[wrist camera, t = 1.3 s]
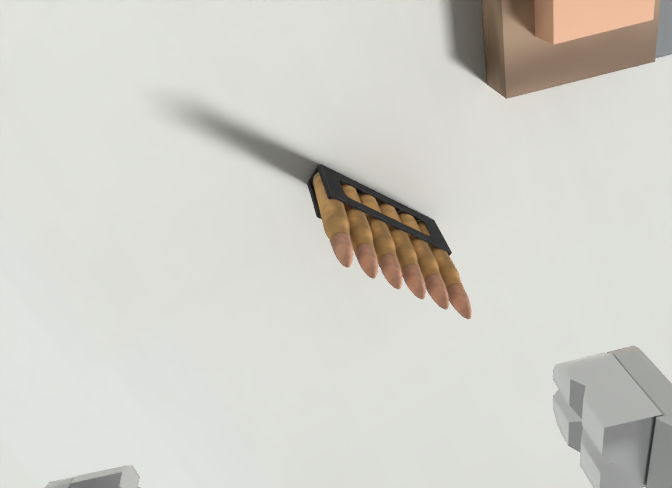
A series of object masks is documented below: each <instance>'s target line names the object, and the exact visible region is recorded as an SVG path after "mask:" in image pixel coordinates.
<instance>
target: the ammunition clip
mask: <svg viewBox="0 0 672 488" xmlns="http://www.w3.org/2000/svg"><path fill="white" fill-rule="evenodd" d="M307 185H308V188H309V191H310V194H311V198H312V201H313V205H314V208H315V212H316V216H317V217H318V218H320V219H322V222H323V226H324V230H325V233H326V235H327V236H328V238H329V239H330V242H331V245H332V248H333V250H334V253H335V255H336V257H337V259H338V260H339V261H340V263H341V264H342V265H343V266H345V267H350V265H351V263H352V259H353V250H354V252H355V255H356V257H357V259H358V262H359V264H360V266H361V268H362V269H363V271H364V272H365V273H366V274H367V275H368V276H369V277H371V278H373V279H374V278H375V277H376V275H377V272H378V264H379V266H380V268H381V270H382V273H383V275H384V276H385V278H386V279H387V281H388V282H389V283H390V284H391V285H392V286H393V287H394V288H396V289H400V288H401V285H402V277H403V278H404V281H405V283H406V284H407V286H408V288H409V289H410V290H411V291H412V293H413V294H414V295H415V296H417V297H418V298H420V299H424V297H425V293H426V289H427V291H428V293H429V295H430V296H431V297H432V299H433V300H434V301H435V302H436V303H437V304H438V305H439V306H440V307H441V308H443V309H448V306H449V301H450V303H451V304H452V305H453V307H454V308H455V309H456V310H457V311H458V313H459V314H461V315H462V316H463V317H464V318H466V319H470V318H471V306H470V302H469V299H468V296H467V294H466V292H465V290H464V288H463V285H462V283H461V281H460V277H459V273H458V271H457V269H456V268H455V266H454V264H453V262H452V261H451V259H450V257H449V256H450V254H451V253H452V252H451V250H450V248H449V247H448V245H447V243H446V241H445V239H444V237H443V235H442V234H441V232H440V230H439V228H438V226H437V224H436V223H435V221H434V220H433V219H431V218H429V217H427V216H425V215H423V214H421V213H419V212H417V211H414V210H412V209H410V208H408V207H406V206H404V205H402V204H400V203H398V202H396V201H394V200H392V199H390V198H388V197H386V196H384V195H382V194H380V193H378V192H376V191H374V190H372V189H370V188H368V187H366V186H364V185H362V184H360V183H358V182H356V181H354V180H352V179H350V178H348V177H346V176H344V175H342V174H340V173H338V172H336V171H333V170H331V169H329V168H327V167H325V166H323V165H318V166H317V168H316V170H315V171H314V173H313V175H312V177H311V178H310V180H309V182H308V183H307ZM425 287H426V289H425Z"/></svg>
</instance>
